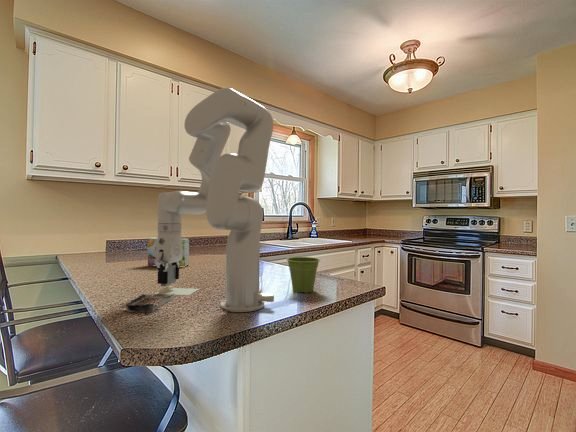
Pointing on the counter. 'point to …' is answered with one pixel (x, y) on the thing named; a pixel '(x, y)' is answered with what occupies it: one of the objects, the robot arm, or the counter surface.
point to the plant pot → (303, 273)
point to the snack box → (185, 261)
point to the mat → (176, 291)
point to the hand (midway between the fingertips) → (168, 280)
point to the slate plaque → (171, 275)
